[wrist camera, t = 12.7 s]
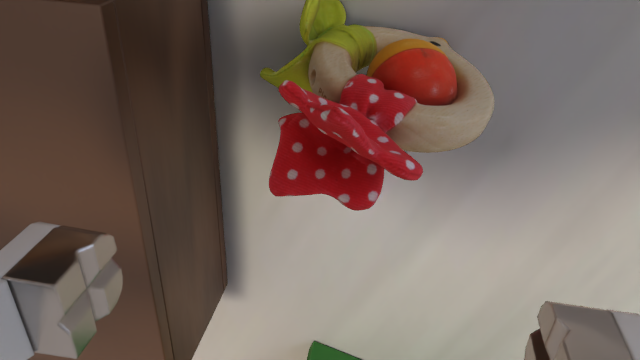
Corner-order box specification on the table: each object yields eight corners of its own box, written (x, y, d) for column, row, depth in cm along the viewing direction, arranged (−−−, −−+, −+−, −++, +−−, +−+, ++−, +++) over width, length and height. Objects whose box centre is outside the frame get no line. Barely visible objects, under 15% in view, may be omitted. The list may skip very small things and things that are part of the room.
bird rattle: (448, -32, 22) (247, -53, 20) (625, 59, 14) (305, 42, 11) (416, 95, 26) (241, 91, 24) (540, 233, 17) (280, 249, 15)
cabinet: (-84, -63, 24) (-302, -35, 17) (205, -39, 22) (99, 4, 15) (25, 250, 34) (-80, 350, 27) (228, 283, 33) (172, 400, 25)
